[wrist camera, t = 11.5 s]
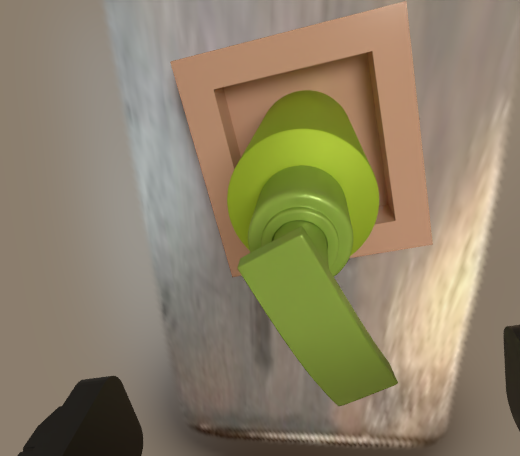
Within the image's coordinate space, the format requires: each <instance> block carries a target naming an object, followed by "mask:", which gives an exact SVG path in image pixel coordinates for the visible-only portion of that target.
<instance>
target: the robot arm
mask: <svg viewBox="0 0 520 456" xmlns="http://www.w3.org/2000/svg"><path fill="white" fill-rule="evenodd" d="M504 356H505V376H506V392H507V398H508V402H509V406H510V410H511V413H512V416H513V418H514V421H515V423H516V425H517V427H518V429H519V431H520V325H515V326H507V327H506V328H505V329H504ZM142 449H143V434H142V429H141V426H140V423H139V421H138V419H137V416H136V414H135V412H134V409H133V407H132V405H131V403H130V400H129V398H128V396H127V393H126V391H125V389H124V387H123V384H122V382H121V380H120V379H119V378H118V377H116V376H108V377H101V378H93V379H85V380H81V381H80V382H78V384H77V385H76V386H75V387H74V389H73V390H72V392H71V393H70V395H69V397H68V398H67V399H66V401H65V403H64V404H63V406H61V407H58V408H57V409H56V410H55V411H54V412H53V413H52V414H51V415H50V416H49V417H47V418H46V419H45V420H44V421H43V422H42V423H41V424H40V425H39V426H38V427H37V428H36V430H35V431H34V433H33V434H32V436H31V437H30V439H29V440H28V441H27V443H26V444H25V446H24V447H23V452H20V453H19V454H18V456H141V454H142Z"/></svg>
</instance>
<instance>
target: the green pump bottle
mask: <svg viewBox="0 0 520 456" xmlns="http://www.w3.org/2000/svg"><path fill="white" fill-rule="evenodd" d="M227 206H228V213H229V217H230V221H231V224H232V226H233V228H234V230H235V232H236V234H237V236H238V237H239V239H240V240H241V242H242V243H243V244H244V245H245V246H246V248H247V249H248V250H249V251H250V253H249V254H247V255H246V256H244V257H242V258H240V261H239V264H238V270H239V272H240V273H241V275H242V277H243V278H244V280H245V281H246V283H247V284H248V286H249V287H250V289H251V291H252V292H253V294H254V295H255V297H256V298H257V300H258V301H259V303H260V305H261V306H262V308H263V309H264V311H265V312H266V314H267V315H268V317H269V318H270V320H271V321H272V323H273V324H274V326H275V327H276V329H277V330H278V332H279V333H280V335H281V336H282V338H283V339H284V341H285V342H286V344H287V345H288V346H289V348H290V349H291V351H292V352H293V354H294V355H295V356H296V358H297V359H298V360H299V362H300V363H301V364H302V366H303V367H304V368H305V370H306V371H307V372H308V373H309V375H310V376H311V377H312V378H313V379H314V381H315V382H316V383H317V384H318V385H319V386H320V387H321V389H322V390H323V391H324V392H325V393H326V394H327V395H328V396H329V397H330V398H331V399H332V400H333V401H334V402H335V403H336V404H337V405H338V406H342V405H345V404H348V403H351V402H353V401H356V400H358V399H361V398H364V397H366V396H369V395H371V394H374V393H376V392H379V391H381V390H384V389H386V388H389V387H391V386H394V385H396V384H397V383H398V382H397V380H396V377H395V375H394V373H393V371H392V368H391V366H390V364H389V362H388V361H387V359H386V358H385V357H384V355H383V354H382V352H381V351H380V350H379V348H378V347H377V345H376V344H375V342H374V341H373V339H372V338H371V336H370V335H369V333H368V332H367V330H366V329H365V327H364V325H363V324H362V322H361V321H360V319H359V318H358V316H357V314H356V313H355V311H354V309H353V308H352V306H351V305H350V303H349V301H348V300H347V298H346V296H345V295H344V293H343V292H342V290H341V288H340V287H339V285H338V283H337V282H336V280H335V278H334V276H335V275H337V274H338V273H339V272H340V271H341V270H342V269H343V267H344V266H345V264H346V263H347V261H348V259H349V257H350V256H351V255H352V254H354V253H355V252H356V251H357V250H358V249H359V248H360V247H361V246H362V245H363V243H364V242H365V241H366V240H367V238H368V237H369V235H370V233H371V231H372V229H373V227H374V225H375V222H376V219H377V215H378V210H379V190H378V185H377V181H376V178H375V175H374V172H373V170H372V168H371V166H370V164H369V161H368V159H367V157H366V155H365V153H364V151H363V148H362V146H361V144H360V142H359V140H358V138H357V135H356V133H355V131H354V129H353V127H352V125H351V122H350V120H349V118H348V116H347V114H346V112H345V111H344V109H343V108H342V106H341V105H340V104H339V103H338V102H337V101H336V100H334V99H333V98H331V97H330V96H328V95H326V94H324V93H321V92H318V91H312V90H301V91H296V92H292V93H290V94H287V95H285V96H284V97H282V98H280V99H279V100H278V101H276V102H275V103H274V104H273V105H272V106H271V108H270V109H269V110H268V112H267V114H266V115H265V117H264V119H263V120H262V122H261V124H260V126H259V127H258V129H257V131H256V133H255V134H254V136H253V138H252V139H251V141H250V143H249V145H248V146H247V148H246V150H245V152H244V153H243V155H242V157H241V158H240V160H239V162H238V164H237V165H236V167H235V169H234V171H233V174H232V176H231V179H230V182H229V187H228V194H227Z"/></svg>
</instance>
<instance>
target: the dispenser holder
mask: <svg viewBox="0 0 520 456" xmlns="http://www.w3.org/2000/svg"><path fill="white" fill-rule="evenodd" d="M171 66H172V69H173V73H174V76H175V80H176V83H177V87H178V90H179V94H180V97H181V101H182V104H183V107H184V111H185V114H186V118H187V121H188V125H189V128H190V132H191V135H192V139H193V142H194V146H195V149H196V153H197V156H198V159H199V163H200V166H201V170H202V173H203V177H204V180H205V184H206V187H207V191H208V194H209V198H210V201H211V204H212V208H213V211H214V215H215V218H216V222H217V225H218V229H219V232H220V236H221V239H222V243H223V246H224V249H225V253H226V256H227V260H228V263H229V267H230V270H231V274H232V277H236V276H242V275H241V273H240V272H239V270H238V264H239V261H240V258H242V257H244V256H246V255H247V254H249V253H250V251H249V250H248V249H247V248H246V246H245V245H244V244H243V243H242V242H241V240H240V239H239V237H238V236H237V234H236V232H235V230H234V228H233V226H232V224H231V221H230V217H229V213H228V206H227V194H228V187H229V182H230V179H231V176H232V174H233V171H234V169H235V167H236V165H237V164H238V162H239V160H240V158H241V157H242V155H243V153H244V152H245V150H246V148H247V146H248V145H249V143H250V141H251V139H252V138H253V136H254V134H255V133H256V131H257V129H258V127H259V126H260V124H261V122H262V120H263V119H264V117H265V115H266V114H267V112H268V110H269V109H270V108H271V106H272V105H273V104H274V103H275V102H276V101H278V100H279V99H280V98H282V97H284V96H285V95H287V94H290V93H292V92H296V91H301V90H312V91H318V92H321V93H324V94H326V95H328V96H330V97H331V98H333V99H334V100H336V101H337V102H338V103H339V104H340V105H341V106H342V108H343V109H344V111H345V112H346V114H347V116H348V118H349V120H350V122H351V125H352V127H353V129H354V131H355V133H356V135H357V138H358V140H359V142H360V144H361V146H362V148H363V151H364V153H365V155H366V157H367V159H368V161H369V164H370V166H371V168H372V170H373V172H374V175H375V178H376V181H377V185H378V190H379V210H378V215H377V219H376V222H375V225H374V227H373V229H372V231H371V233H370V235H369V237H368V238H367V240H366V241H365V242H364V243H363V245H362V246H361V247H360V248H359V249H358V250H357V251H356V252H355V253H354V254H352V255H351V256H350V257H349V258H353V257H359V256H365V255H371V254H377V253H383V252H389V251H396V250H402V249H408V248H414V247H420V246H426V245H432V244H433V243H432V234H431V225H430V216H429V206H428V197H427V188H426V179H425V170H424V160H423V151H422V142H421V133H420V123H419V114H418V105H417V96H416V87H415V77H414V68H413V59H412V50H411V40H410V31H409V22H408V13H407V4H406V1H404V2H400V3H396V4H393V5H389V6H385V7H381V8H377V9H373V10H369V11H365V12H362V13H358V14H354V15H350V16H346V17H342V18H338V19H334V20H330V21H327V22H323V23H319V24H315V25H311V26H307V27H303V28H299V29H295V30H292V31H288V32H284V33H280V34H276V35H272V36H268V37H264V38H261V39H257V40H253V41H249V42H245V43H241V44H237V45H233V46H229V47H226V48H222V49H218V50H214V51H210V52H206V53H202V54H198V55H194V56H191V57H187V58H183V59H179V60H175V61H171Z"/></svg>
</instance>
